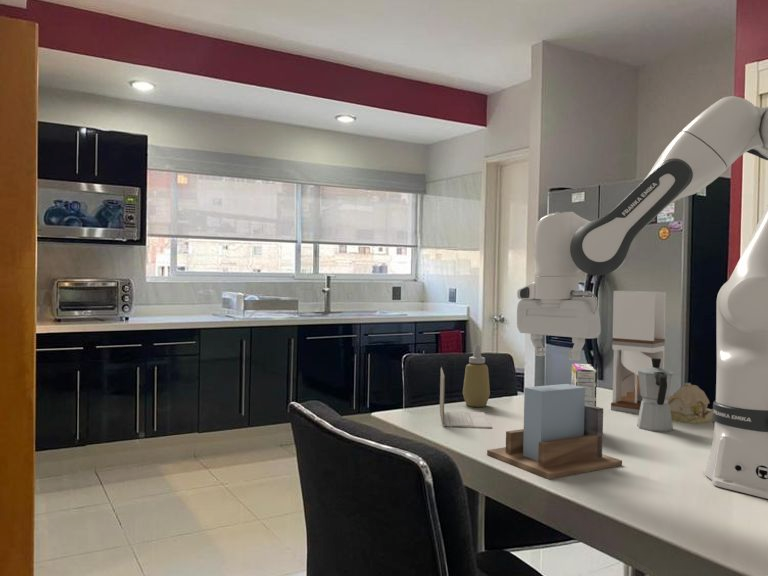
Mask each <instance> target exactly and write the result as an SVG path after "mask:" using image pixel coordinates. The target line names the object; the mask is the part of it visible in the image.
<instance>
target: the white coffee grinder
mask: <svg viewBox="0 0 768 576" xmlns="http://www.w3.org/2000/svg"><path fill="white" fill-rule="evenodd" d="M666 296H667V292H666V291H646V290H645V291H639V290H638V291H637V290H613V299H612V300H613V302H612V303H613V305H612V307H613V308H612V341H611V342H612V346H611V347H612V350H613V364H612V365H613V368H612V369H613V370H612V371H613V372H612V402H611V403H610V410H611V411H615V410H616V411H617V412H622V411H623V413H630V414H635V413H636V414H635V415H637V414H638V415H639V411H640V406H641V401H643V397H642V396H641V394H640V385H639V376H638V371H639V370H642V369H647V368H651V367H653V365H652V359H651V358H659V359H661V362H660V367H659V368H662V369H665V348H666V347H665V345H666V344H665V343H666V341H665V340H666V306H667V305H666V304H667V303H666V302H667V298H666ZM616 411H615V412H616Z"/></svg>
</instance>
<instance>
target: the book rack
mask: <svg viewBox="0 0 768 576" xmlns="http://www.w3.org/2000/svg"><path fill="white" fill-rule="evenodd" d="M603 434H604V408H603V407H599V406H596V407H595V406H591V405H586V404H585V408H584V435H583V436H577V437H570V438H563V439H557V440H550V441H543V442H539V451H538V461H536V460H534V459H531V458H528V457H525V456H523V437H524V428H521V429H513V430H507V431H505V447H504V446H503V447H498V448H492V449H491V448H490V449H486V456H489V457H492V458H494V459H496V460H499V461H502V462H505V463H508V464H509V465H512V466H515V467H517V468H519V469H522V470H525V471H527V472H530V473H532V474H535V475H537V476H540V477H542V478H544V479H548V480H553V479H558V478H564V477H569V476H572V475H573V476H574V475H578V474H584V473H589V472H590V473H591V472H593V471H600V470H604V469H611V468H615V466H616V467H620V465H621V466H623V460H622V459H619V458H616V457H613V456H610V455H607V454H604V453H603V440H604V439H603V438H604V437H603V436H604V435H603ZM610 467H611V468H610Z"/></svg>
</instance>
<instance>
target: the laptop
mask: <svg viewBox="0 0 768 576" xmlns="http://www.w3.org/2000/svg"><path fill="white" fill-rule="evenodd" d="M444 373H445V372H444V370H443V367H442V366H440V376H439V379H440V381H439V390H440V391H439V394H440V395H439V413H440V417H441V418H440V419H441V425H442V428H464V429H465V428H466V429H493V427H492V425H491V423H490V421H489V419H488V417H487V416H486V413H485V412H484V411H459V410H458V411H456V410H455V411H454V410H445V388H446V387H445V386H446V385H445V384H446V382H445V381H446V380H445V379H446V378H445V377H446V376H445V374H444Z"/></svg>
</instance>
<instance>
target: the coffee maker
mask: <svg viewBox="0 0 768 576" xmlns="http://www.w3.org/2000/svg"><path fill="white" fill-rule="evenodd" d="M651 359H652V365H653V367H651V368H647V369H642V370H639V371H638V376H639V385H640V394H641V396H642V397H643V401H641V406H640V411H639V414H638V417H637V423H636V426H637V427H638V429H641V430H646V431H648V432H649V431H650V432H658V433H659V432H660V433H668V432H673V431H674V426H673V420H672V418H671V411H670V404H669V403H668V399H669V398H670V397H671V396H672V390H673V383H674V379H675V378H674V377H675V372H673V371H670V370H668V369H665V368H664V369H662V368H659V367H660V362H661V359H659V358H651Z"/></svg>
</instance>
